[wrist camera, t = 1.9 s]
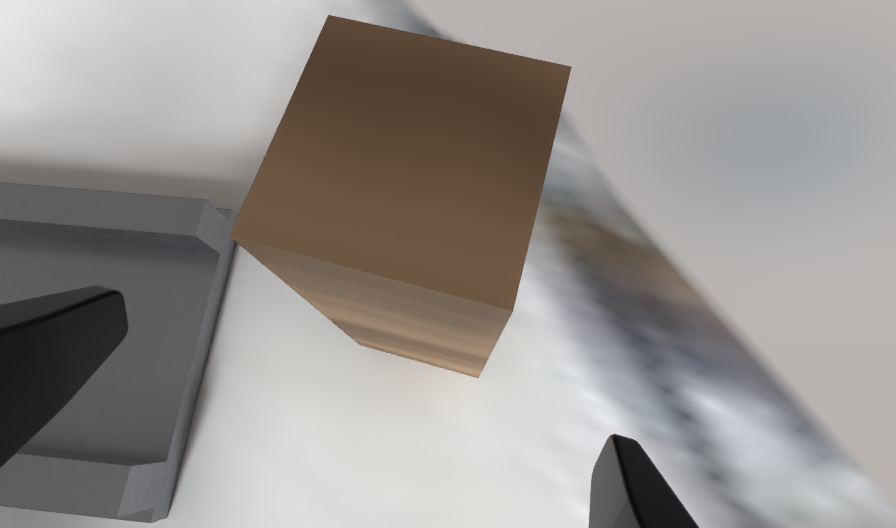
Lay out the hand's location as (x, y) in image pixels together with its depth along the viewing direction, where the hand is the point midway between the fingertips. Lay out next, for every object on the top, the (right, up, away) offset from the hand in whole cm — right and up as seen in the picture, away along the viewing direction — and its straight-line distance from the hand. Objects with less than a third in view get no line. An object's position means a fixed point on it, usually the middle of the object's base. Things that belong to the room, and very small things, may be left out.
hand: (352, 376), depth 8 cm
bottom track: (-15, -1, +11) cm, 19 cm away
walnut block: (+1, 0, +12) cm, 12 cm away
